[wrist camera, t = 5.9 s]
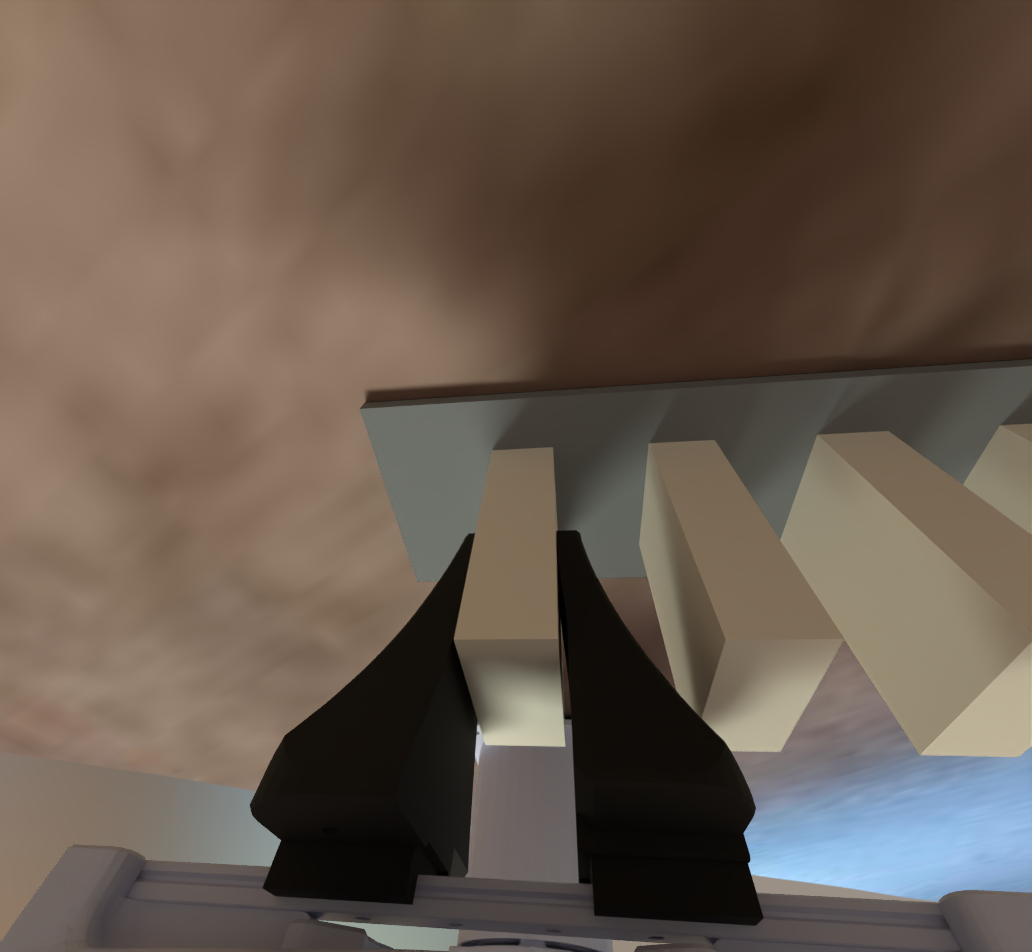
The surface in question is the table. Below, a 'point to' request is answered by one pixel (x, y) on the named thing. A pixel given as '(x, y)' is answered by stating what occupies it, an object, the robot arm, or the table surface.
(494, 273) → the table surface
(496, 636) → the domino
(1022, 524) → the domino
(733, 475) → the domino
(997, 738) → the domino
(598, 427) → the mat
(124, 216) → the table surface
